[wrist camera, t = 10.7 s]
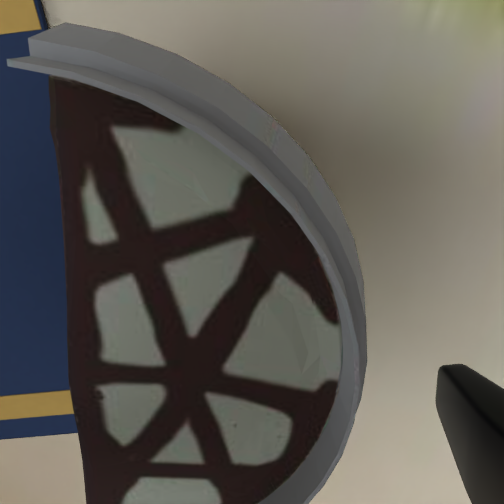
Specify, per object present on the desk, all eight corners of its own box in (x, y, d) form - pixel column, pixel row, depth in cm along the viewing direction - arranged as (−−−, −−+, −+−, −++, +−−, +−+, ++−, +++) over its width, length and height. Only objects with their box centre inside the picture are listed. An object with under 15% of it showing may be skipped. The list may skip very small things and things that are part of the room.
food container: (291, 354, 20) (328, 611, 11) (155, 344, 19) (73, 599, 10) (341, 58, 15) (493, 65, 6) (157, 38, 14) (-2, 10, 5)
